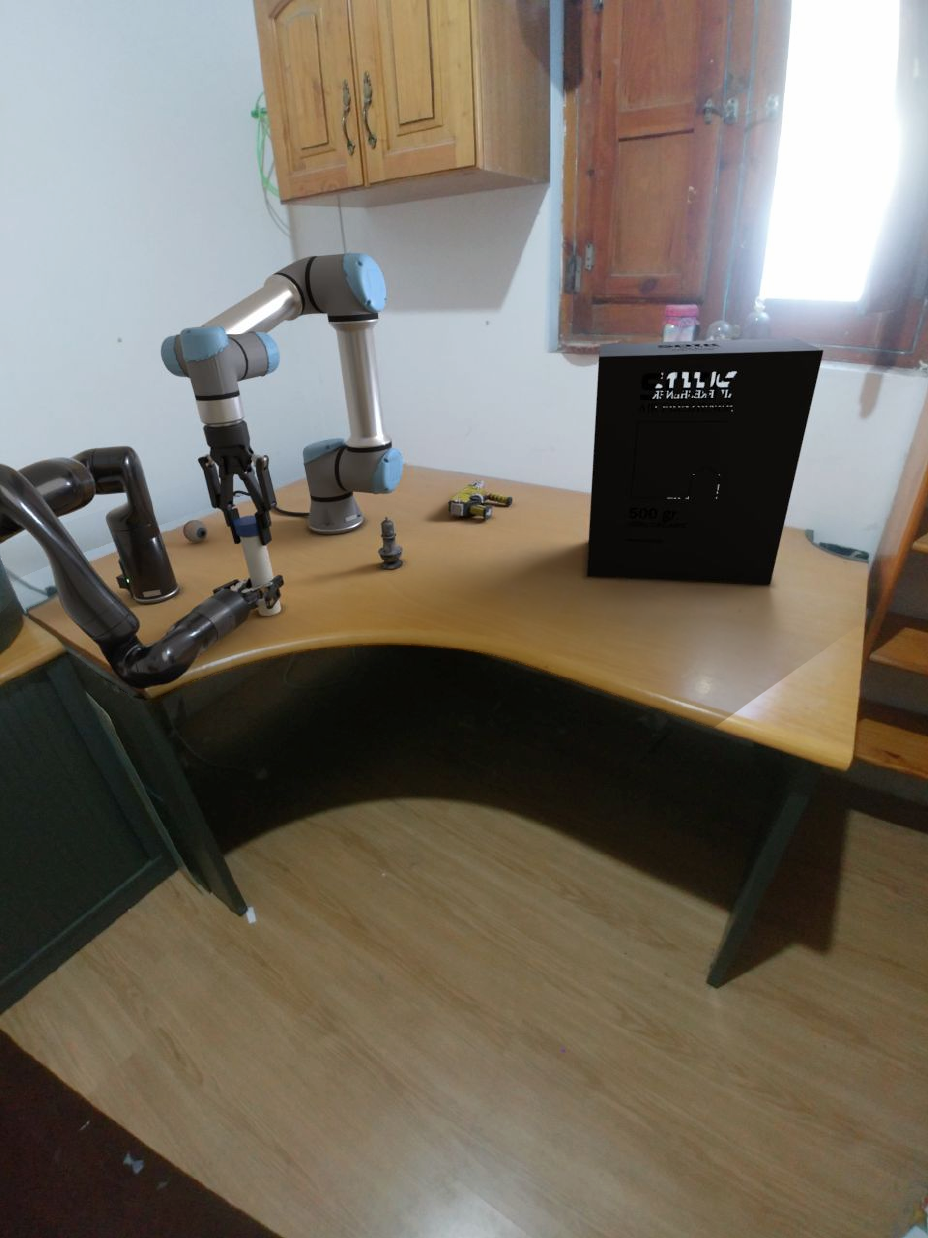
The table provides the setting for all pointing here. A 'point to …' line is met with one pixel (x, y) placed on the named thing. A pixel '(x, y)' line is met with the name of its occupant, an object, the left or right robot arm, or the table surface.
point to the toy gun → (475, 501)
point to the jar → (259, 568)
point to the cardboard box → (696, 457)
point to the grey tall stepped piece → (389, 546)
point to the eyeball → (195, 531)
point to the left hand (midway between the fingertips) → (270, 577)
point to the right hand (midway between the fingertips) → (253, 541)
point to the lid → (246, 526)
